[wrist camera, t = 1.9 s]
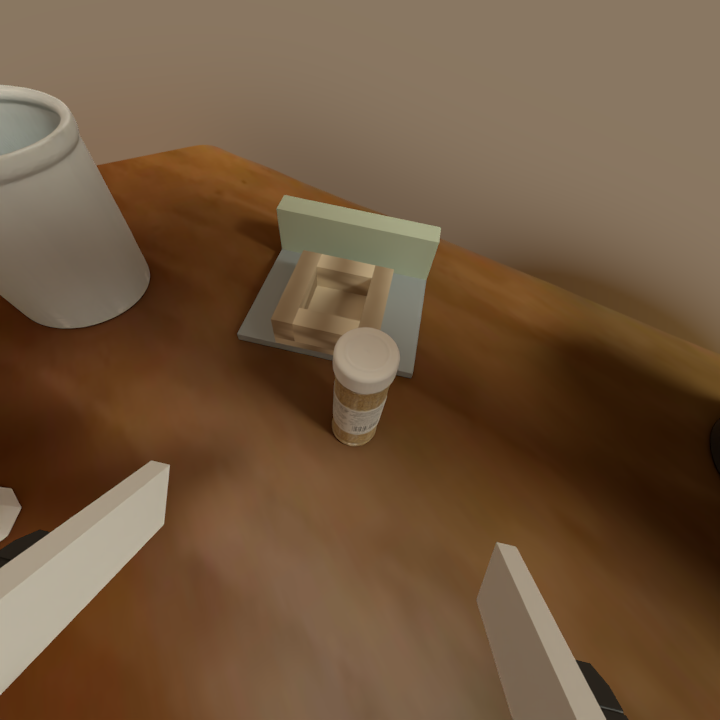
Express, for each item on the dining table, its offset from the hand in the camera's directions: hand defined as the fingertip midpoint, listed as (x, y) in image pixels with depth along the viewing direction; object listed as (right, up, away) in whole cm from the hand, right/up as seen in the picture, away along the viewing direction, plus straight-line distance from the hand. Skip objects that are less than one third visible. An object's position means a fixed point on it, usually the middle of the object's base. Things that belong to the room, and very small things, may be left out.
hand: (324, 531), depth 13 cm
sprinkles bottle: (+1, 0, +21) cm, 20 cm away
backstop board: (-1, +14, +29) cm, 33 cm away
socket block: (-1, +12, +26) cm, 29 cm away
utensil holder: (-31, +16, +27) cm, 45 cm away
